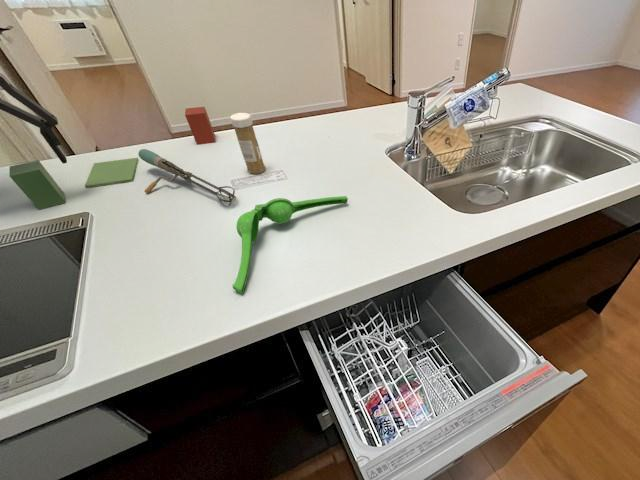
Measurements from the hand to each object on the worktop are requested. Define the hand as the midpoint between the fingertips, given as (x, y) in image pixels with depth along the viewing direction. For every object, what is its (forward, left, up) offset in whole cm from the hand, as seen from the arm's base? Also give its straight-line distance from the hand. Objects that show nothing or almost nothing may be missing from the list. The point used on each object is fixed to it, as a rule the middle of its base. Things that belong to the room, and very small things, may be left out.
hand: (26, 169), depth 73 cm
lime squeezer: (+30, +47, -8) cm, 56 cm away
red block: (-24, +33, -8) cm, 41 cm away
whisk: (+5, +27, -8) cm, 28 cm away
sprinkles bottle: (0, +45, -8) cm, 46 cm away
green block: (0, 0, -8) cm, 8 cm away
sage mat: (-10, +11, -8) cm, 17 cm away
